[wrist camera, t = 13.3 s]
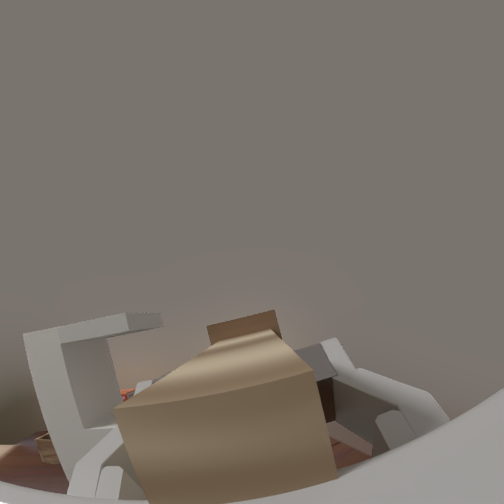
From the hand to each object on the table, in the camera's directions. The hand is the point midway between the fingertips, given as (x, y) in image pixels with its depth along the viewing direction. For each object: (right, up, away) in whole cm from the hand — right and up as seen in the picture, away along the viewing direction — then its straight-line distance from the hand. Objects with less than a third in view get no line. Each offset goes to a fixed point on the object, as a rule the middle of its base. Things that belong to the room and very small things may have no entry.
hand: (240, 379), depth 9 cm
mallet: (+1, -3, +3) cm, 4 cm away
